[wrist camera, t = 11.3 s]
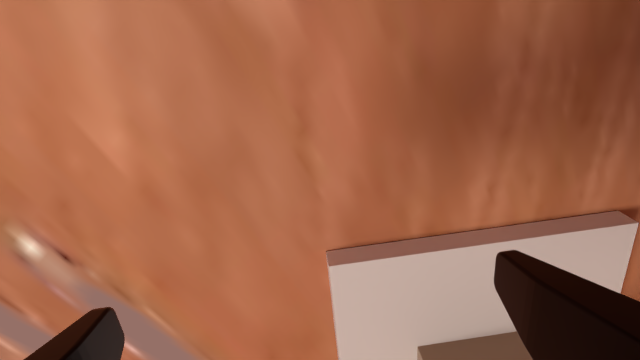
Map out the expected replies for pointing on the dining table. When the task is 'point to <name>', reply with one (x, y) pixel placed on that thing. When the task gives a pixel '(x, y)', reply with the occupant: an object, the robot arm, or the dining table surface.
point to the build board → (460, 287)
